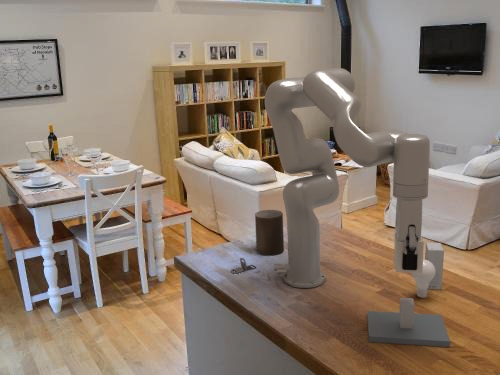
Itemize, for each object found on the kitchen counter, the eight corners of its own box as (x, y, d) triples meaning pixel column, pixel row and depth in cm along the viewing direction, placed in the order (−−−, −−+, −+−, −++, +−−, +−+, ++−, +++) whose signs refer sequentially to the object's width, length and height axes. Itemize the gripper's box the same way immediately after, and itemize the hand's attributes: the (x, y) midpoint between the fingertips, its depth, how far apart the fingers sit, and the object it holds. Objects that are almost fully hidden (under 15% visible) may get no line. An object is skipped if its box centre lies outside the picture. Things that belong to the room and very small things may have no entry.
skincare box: (442, 290, 140) (444, 250, 137) (426, 289, 141) (428, 250, 138) (438, 280, 146) (440, 242, 143) (423, 280, 147) (425, 242, 144)
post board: (368, 341, 117) (369, 311, 115) (367, 316, 128) (367, 287, 126) (449, 347, 113) (451, 315, 111) (440, 320, 125) (442, 291, 123)
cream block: (396, 272, 114) (396, 241, 112) (394, 262, 120) (394, 232, 118) (422, 273, 113) (423, 241, 111) (419, 263, 119) (420, 233, 117)
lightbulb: (431, 304, 132) (433, 266, 129) (407, 299, 136) (408, 262, 133) (436, 294, 137) (438, 257, 135) (413, 290, 141) (414, 254, 138)
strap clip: (234, 276, 156) (233, 263, 155) (229, 272, 158) (229, 260, 157) (257, 268, 160) (256, 256, 159) (252, 265, 163) (251, 253, 162)
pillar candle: (284, 255, 169) (283, 213, 166) (256, 256, 170) (254, 214, 166) (283, 245, 179) (282, 205, 175) (256, 246, 179) (254, 206, 175)
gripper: (390, 180, 121) (388, 249, 125) (396, 200, 104) (394, 279, 109) (422, 180, 119) (420, 250, 124) (433, 200, 103) (430, 280, 107)
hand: (408, 263), depth 116 cm, fingers closed on cream block, 5 cm apart
